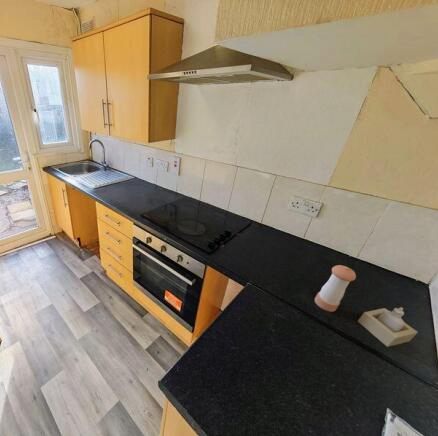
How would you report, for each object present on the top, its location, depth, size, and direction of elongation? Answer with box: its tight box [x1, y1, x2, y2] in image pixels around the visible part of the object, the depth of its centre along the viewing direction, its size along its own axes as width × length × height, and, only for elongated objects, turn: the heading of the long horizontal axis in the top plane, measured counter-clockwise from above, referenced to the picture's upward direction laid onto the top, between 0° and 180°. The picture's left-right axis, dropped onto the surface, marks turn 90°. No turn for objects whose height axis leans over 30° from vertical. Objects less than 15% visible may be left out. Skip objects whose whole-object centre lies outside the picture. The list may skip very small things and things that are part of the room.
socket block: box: [357, 307, 418, 348], centre depth 80 cm, size 10×10×5 cm
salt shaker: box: [314, 264, 357, 313], centre depth 86 cm, size 7×7×19 cm
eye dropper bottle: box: [377, 306, 405, 333], centre depth 78 cm, size 4×6×12 cm
